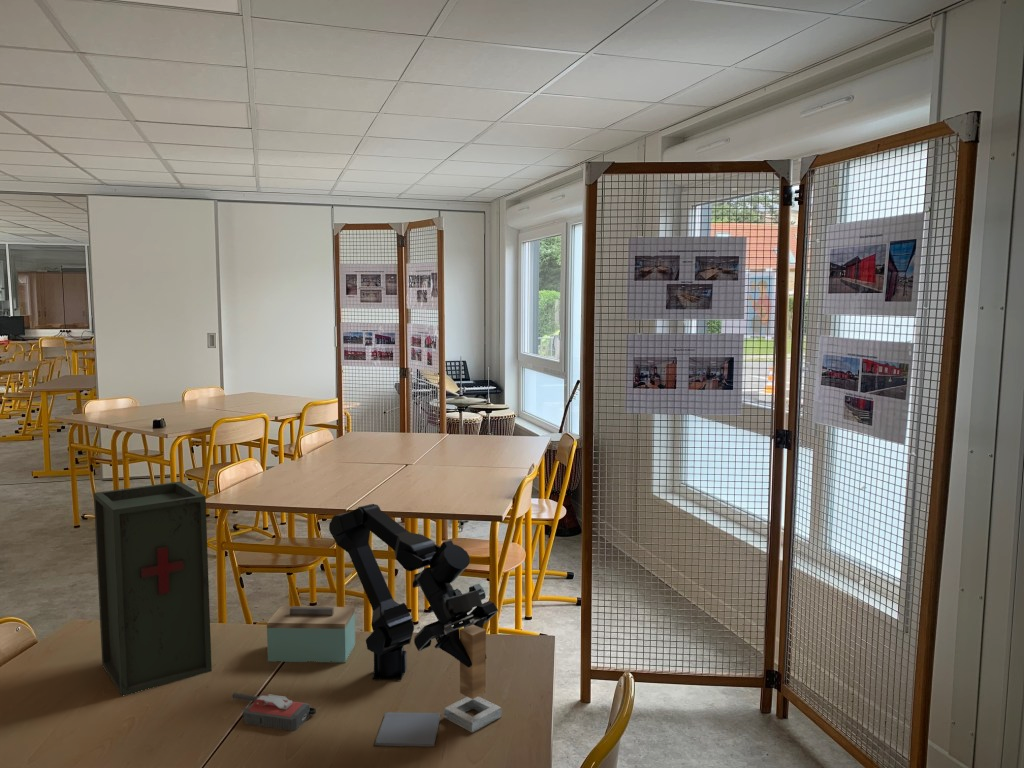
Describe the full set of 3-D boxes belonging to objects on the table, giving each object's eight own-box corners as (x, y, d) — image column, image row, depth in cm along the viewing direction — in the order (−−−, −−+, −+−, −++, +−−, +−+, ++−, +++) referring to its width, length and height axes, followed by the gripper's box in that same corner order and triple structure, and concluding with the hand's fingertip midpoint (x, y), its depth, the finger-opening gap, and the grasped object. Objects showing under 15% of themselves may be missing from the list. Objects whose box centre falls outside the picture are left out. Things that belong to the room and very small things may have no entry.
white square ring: (444, 717, 154) (444, 708, 154) (473, 702, 160) (473, 693, 160) (472, 732, 149) (472, 722, 149) (501, 716, 155) (501, 707, 155)
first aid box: (122, 696, 162) (113, 509, 158) (102, 665, 176) (93, 492, 172) (211, 670, 174) (205, 496, 170) (186, 643, 188) (180, 481, 184)
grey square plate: (375, 745, 145) (375, 742, 144) (385, 714, 155) (385, 712, 155) (433, 746, 144) (433, 743, 144) (440, 715, 155) (440, 713, 155)
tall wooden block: (460, 692, 154) (459, 629, 153) (473, 686, 157) (473, 624, 155) (472, 699, 152) (472, 635, 150) (485, 692, 154) (485, 629, 153)
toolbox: (267, 661, 179) (266, 616, 177) (281, 642, 188) (280, 599, 187) (345, 662, 178) (344, 617, 177) (355, 643, 188) (354, 600, 187)
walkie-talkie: (322, 711, 157) (235, 698, 162) (321, 691, 157) (235, 678, 162) (299, 734, 149) (209, 720, 154) (299, 713, 148) (208, 699, 153)
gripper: (423, 586, 148) (462, 660, 141) (492, 563, 161) (531, 629, 155) (397, 614, 154) (434, 686, 147) (466, 590, 167) (502, 655, 161)
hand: (477, 663), depth 152 cm, fingers closed on tall wooden block, 4 cm apart
